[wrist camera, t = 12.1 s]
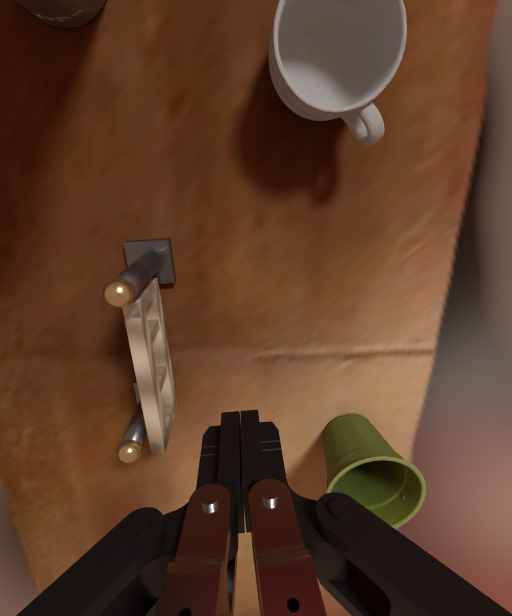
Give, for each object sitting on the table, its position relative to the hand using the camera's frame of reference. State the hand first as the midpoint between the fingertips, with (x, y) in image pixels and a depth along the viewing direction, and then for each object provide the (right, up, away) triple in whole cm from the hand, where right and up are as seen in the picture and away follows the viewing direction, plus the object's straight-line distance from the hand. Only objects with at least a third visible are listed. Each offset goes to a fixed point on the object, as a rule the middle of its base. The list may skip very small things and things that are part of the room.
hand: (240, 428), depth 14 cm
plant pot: (+14, -13, +37) cm, 42 cm away
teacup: (+7, +28, +21) cm, 36 cm away
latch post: (-13, -6, +33) cm, 36 cm away
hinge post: (-12, +10, +26) cm, 31 cm away
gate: (-11, 0, +29) cm, 31 cm away
